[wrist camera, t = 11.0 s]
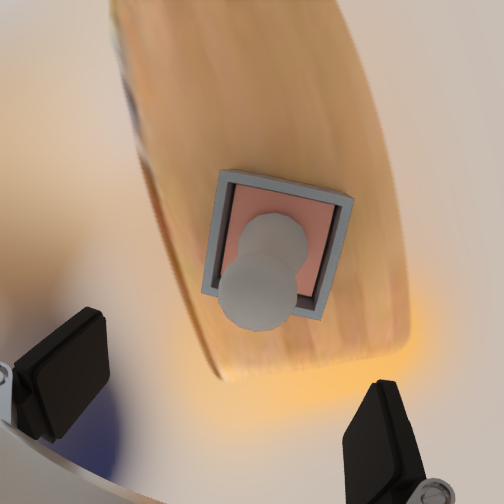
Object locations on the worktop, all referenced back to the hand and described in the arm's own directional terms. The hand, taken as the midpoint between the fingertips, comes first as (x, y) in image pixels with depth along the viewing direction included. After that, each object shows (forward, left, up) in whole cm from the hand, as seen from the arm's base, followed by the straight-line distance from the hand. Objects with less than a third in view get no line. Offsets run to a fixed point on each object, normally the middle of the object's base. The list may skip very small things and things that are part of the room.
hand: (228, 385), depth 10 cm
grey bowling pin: (0, 0, -20) cm, 20 cm away
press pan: (0, 0, -20) cm, 20 cm away
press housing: (0, 0, -22) cm, 22 cm away
